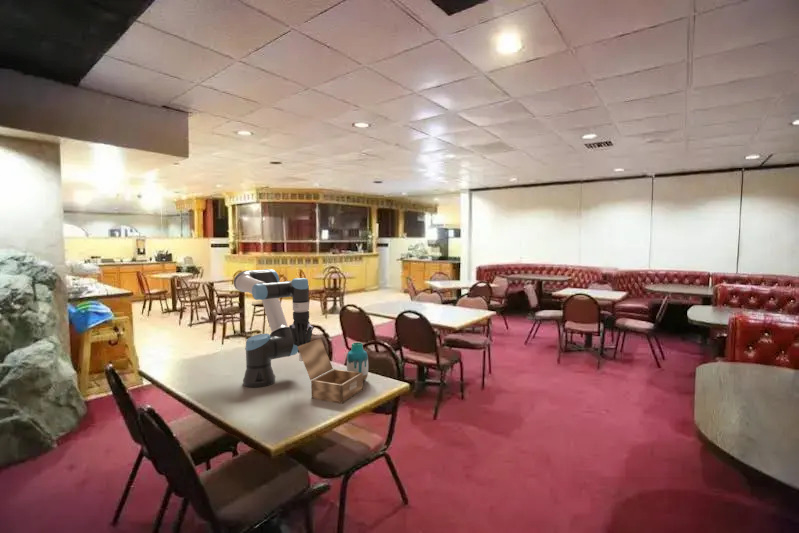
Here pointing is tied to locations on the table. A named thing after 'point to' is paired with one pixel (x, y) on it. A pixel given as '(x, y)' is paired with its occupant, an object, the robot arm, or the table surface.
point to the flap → (315, 358)
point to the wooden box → (337, 385)
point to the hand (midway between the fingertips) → (302, 360)
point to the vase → (358, 360)
